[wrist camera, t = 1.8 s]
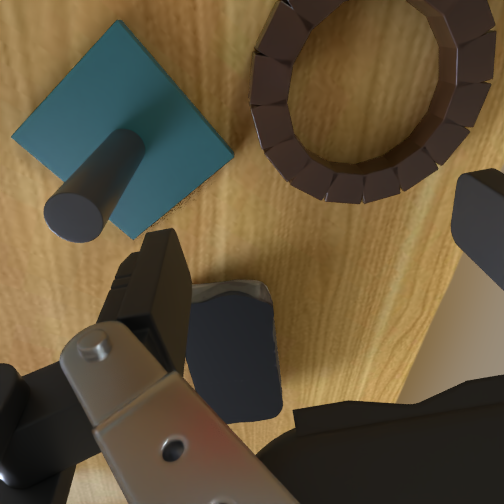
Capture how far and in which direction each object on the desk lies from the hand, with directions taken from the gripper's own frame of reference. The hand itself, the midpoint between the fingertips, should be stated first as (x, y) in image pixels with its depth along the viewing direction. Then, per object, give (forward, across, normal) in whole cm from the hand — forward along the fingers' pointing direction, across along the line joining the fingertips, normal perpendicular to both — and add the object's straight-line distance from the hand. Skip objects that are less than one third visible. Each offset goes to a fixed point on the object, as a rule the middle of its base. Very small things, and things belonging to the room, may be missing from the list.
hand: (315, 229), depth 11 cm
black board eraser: (+16, +6, +20) cm, 27 cm away
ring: (+16, -6, 0) cm, 17 cm away
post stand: (+16, +9, 0) cm, 19 cm away
